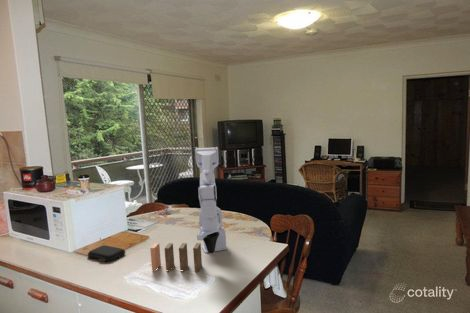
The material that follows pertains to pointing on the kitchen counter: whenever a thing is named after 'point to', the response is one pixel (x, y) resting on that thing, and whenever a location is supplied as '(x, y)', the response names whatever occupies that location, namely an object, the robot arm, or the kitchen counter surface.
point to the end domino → (155, 256)
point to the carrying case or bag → (106, 253)
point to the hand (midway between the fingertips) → (211, 252)
